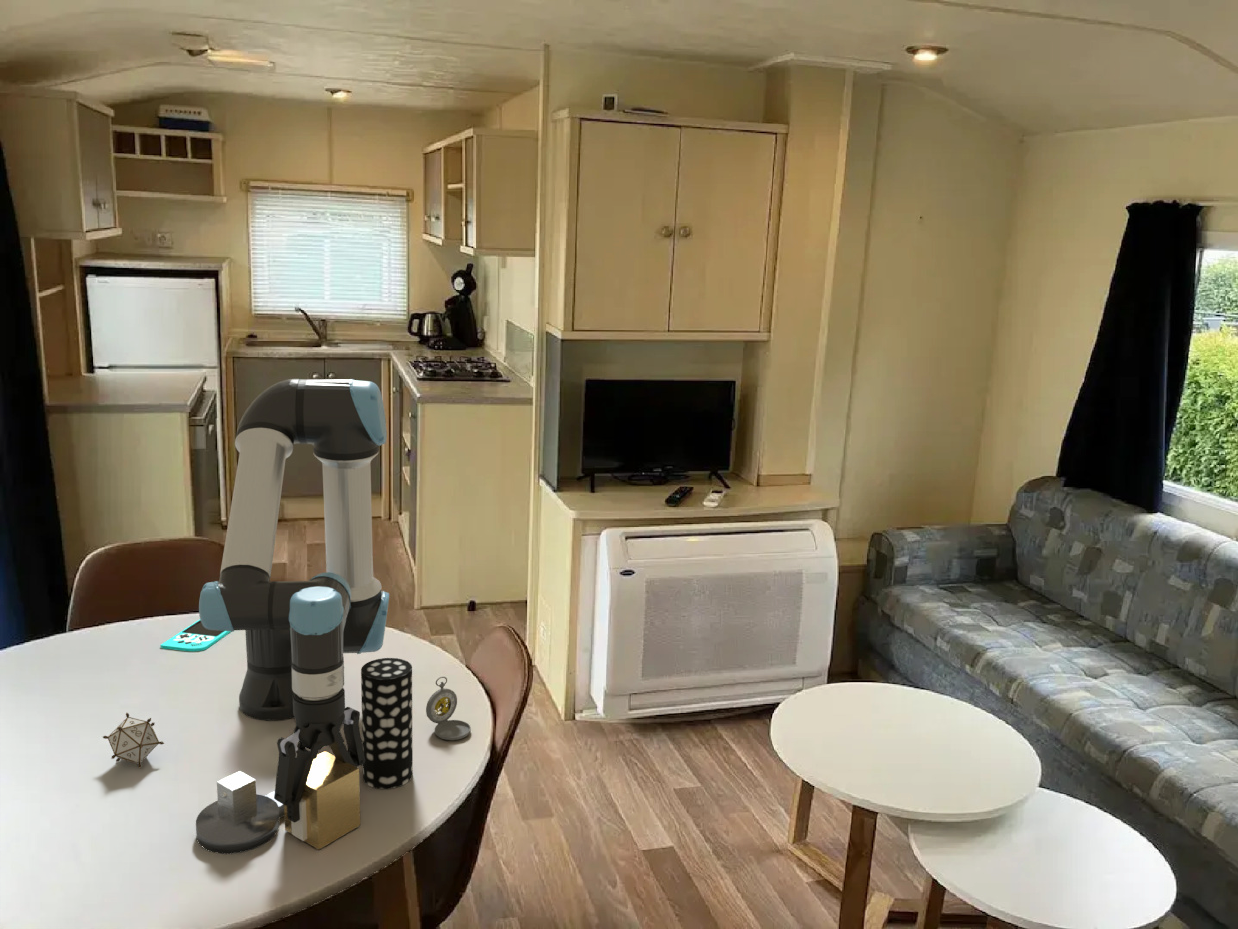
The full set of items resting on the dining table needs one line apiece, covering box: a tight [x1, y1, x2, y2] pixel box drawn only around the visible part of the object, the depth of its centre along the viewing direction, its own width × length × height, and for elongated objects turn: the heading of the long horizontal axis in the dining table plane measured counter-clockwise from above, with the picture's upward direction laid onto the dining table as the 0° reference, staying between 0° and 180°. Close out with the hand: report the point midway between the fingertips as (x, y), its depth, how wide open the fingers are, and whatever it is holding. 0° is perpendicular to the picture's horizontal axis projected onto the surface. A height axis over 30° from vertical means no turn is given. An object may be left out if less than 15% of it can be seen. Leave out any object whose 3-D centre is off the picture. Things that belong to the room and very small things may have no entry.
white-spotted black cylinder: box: [360, 657, 414, 790], centre depth 168 cm, size 8×8×20 cm
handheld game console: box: [160, 618, 232, 652], centre depth 223 cm, size 10×16×1 cm, turn 170°
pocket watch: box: [425, 676, 472, 741], centre depth 186 cm, size 8×8×10 cm
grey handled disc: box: [195, 770, 285, 855], centre depth 158 cm, size 24×12×8 cm, turn 145°
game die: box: [102, 712, 165, 769], centre depth 171 cm, size 9×8×10 cm
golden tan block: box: [283, 750, 361, 850], centre depth 154 cm, size 8×8×10 cm
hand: (322, 823), depth 155 cm, fingers closed on golden tan block, 8 cm apart
